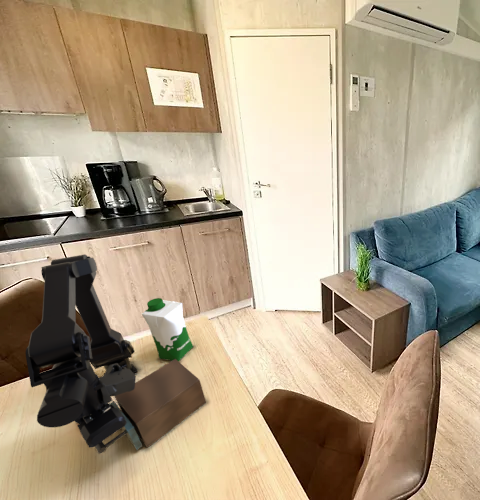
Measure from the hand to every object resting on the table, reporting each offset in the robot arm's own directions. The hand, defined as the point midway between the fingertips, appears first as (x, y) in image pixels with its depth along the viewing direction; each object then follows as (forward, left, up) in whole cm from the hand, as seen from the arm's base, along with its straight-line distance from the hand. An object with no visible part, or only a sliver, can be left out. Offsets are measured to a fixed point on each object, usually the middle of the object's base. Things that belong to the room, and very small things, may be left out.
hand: (105, 433), depth 64 cm
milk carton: (-19, +24, -6) cm, 31 cm away
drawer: (0, +7, -5) cm, 8 cm away
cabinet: (0, +12, -6) cm, 13 cm away
